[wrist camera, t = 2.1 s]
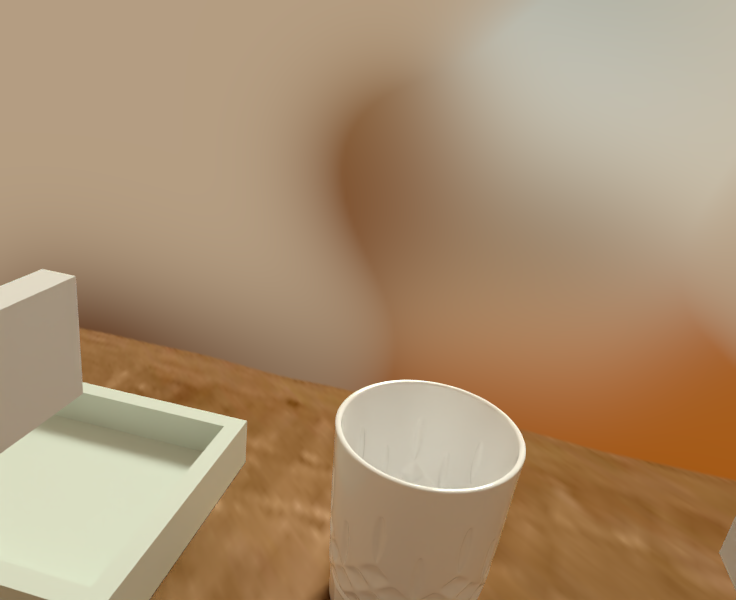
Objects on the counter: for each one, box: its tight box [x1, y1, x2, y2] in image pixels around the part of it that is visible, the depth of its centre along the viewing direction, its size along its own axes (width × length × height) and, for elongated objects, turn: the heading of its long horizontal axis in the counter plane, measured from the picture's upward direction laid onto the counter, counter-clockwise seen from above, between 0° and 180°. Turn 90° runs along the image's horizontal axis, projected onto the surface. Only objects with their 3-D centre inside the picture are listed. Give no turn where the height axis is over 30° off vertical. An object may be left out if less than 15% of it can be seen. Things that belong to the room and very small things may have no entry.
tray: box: [0, 382, 247, 600], centre depth 31 cm, size 18×14×3 cm
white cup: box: [329, 380, 526, 600], centre depth 27 cm, size 8×8×10 cm
